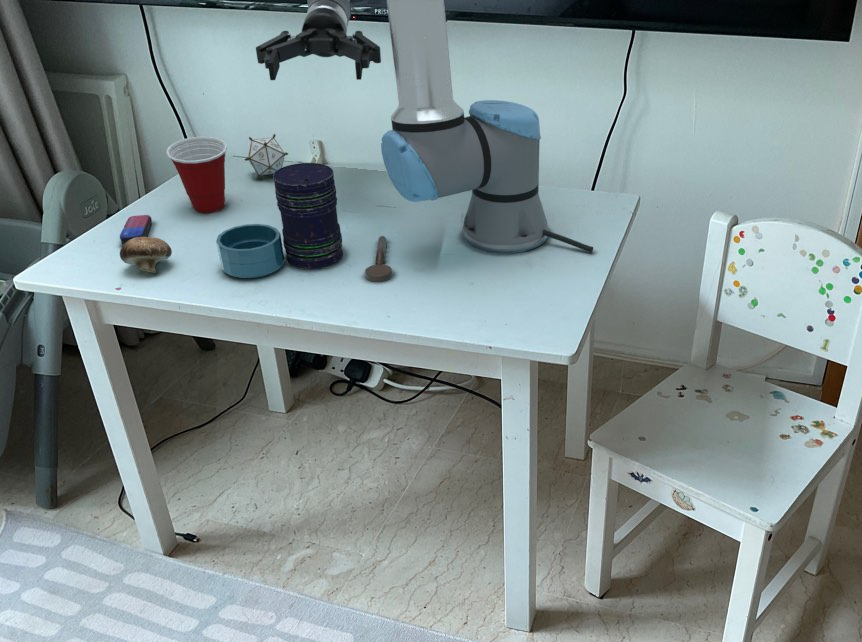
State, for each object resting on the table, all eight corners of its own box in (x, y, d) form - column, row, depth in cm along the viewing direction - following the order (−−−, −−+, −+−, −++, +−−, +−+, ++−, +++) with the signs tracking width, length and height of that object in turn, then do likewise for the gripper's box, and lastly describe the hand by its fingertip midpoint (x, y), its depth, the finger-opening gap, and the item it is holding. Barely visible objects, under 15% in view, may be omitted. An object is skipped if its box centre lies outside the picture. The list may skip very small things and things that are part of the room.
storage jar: (281, 249, 157) (268, 167, 148) (337, 240, 160) (327, 159, 151) (291, 274, 149) (277, 189, 140) (349, 264, 152) (339, 180, 143)
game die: (276, 188, 189) (293, 143, 188) (280, 188, 181) (298, 142, 180) (234, 170, 185) (252, 124, 184) (237, 170, 177) (255, 122, 176)
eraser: (131, 222, 166) (128, 213, 165) (154, 220, 167) (151, 211, 166) (119, 247, 157) (117, 237, 156) (143, 245, 158) (141, 236, 157)
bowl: (295, 257, 154) (290, 227, 151) (266, 284, 146) (260, 253, 143) (242, 250, 157) (236, 220, 153) (211, 276, 149) (204, 246, 145)
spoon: (370, 242, 159) (369, 234, 158) (395, 241, 159) (394, 234, 159) (364, 282, 147) (364, 274, 146) (391, 281, 147) (391, 273, 146)
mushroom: (150, 267, 144) (142, 229, 144) (114, 279, 147) (105, 242, 147) (185, 269, 152) (177, 233, 152) (149, 281, 155) (141, 246, 155)
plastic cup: (178, 222, 166) (163, 159, 159) (181, 199, 175) (167, 139, 168) (238, 216, 168) (226, 154, 161) (238, 194, 177) (227, 134, 170)
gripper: (397, 50, 162) (395, 94, 146) (256, 51, 160) (238, 95, 144) (394, 6, 157) (392, 46, 141) (250, 7, 155) (230, 47, 139)
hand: (314, 71), depth 142 cm, fingers open, 13 cm apart
